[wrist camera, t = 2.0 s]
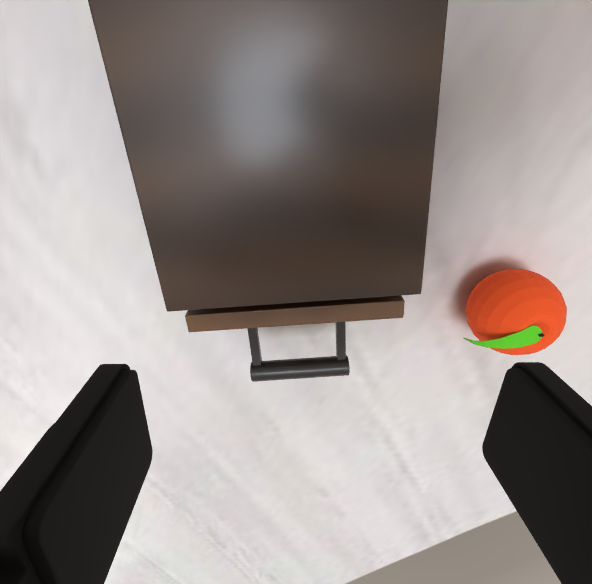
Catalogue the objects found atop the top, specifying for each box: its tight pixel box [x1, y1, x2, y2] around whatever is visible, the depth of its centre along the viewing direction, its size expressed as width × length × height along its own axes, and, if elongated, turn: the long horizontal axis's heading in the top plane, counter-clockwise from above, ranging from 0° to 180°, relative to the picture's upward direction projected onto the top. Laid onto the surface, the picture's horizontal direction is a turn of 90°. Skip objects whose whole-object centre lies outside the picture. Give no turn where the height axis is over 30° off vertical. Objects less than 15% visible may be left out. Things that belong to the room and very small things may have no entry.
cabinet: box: [88, 0, 448, 311], centre depth 21 cm, size 19×14×11 cm
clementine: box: [464, 269, 567, 355], centre depth 29 cm, size 8×7×7 cm
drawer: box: [185, 295, 404, 381], centre depth 23 cm, size 23×13×9 cm, turn 4°
